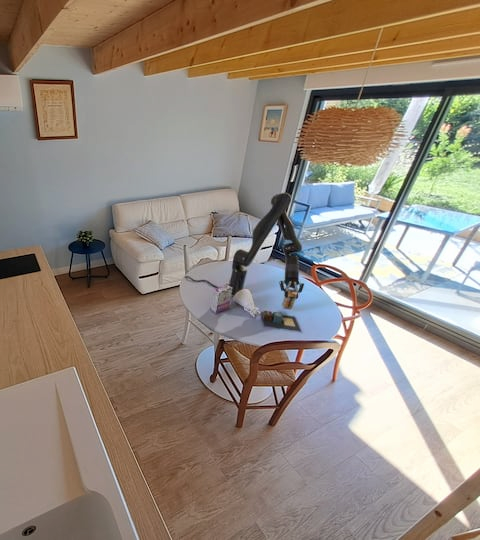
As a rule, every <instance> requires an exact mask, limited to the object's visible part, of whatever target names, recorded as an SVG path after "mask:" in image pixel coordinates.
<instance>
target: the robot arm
mask: <svg viewBox="0 0 480 540" xmlns="http://www.w3.org/2000/svg"><path fill="white" fill-rule="evenodd" d="M291 203H292V196H291V195H290V194H289V193H288V192H280V193H277V194H274V195H273V196H272V197H271V199H270V205H271V208H270V210H269V211H268V212H267V213H266V214H265V215H264V216H262V218H261V219H260V220H259V221H258V222H257V224H256V225H255V227H254V228H253V230H252V235H251V237H252V239H251V240H252V242H251V247H250V249H249V251H246V250H244V249H242V248H241V249H240V248H239V249H237V250H236V251H235V253H234V255H233V258H232V264H231V275H230V279H229V282H228V283H226V284H225V285H229V286H231V287H232V288H233V289H232V294H231V298H233V297H234V295H235V294H236V293H237V292H238V291H240V290H243V289H244V286H245V282H246V278H247V274H248V269H247V267H249V266H251V264H252V263H253V261H255V258H256V256H257V254H258V252H259V250H260V248H261V247H262V245H263V244H264V242H265V241H266V239H267V238H268V236H269V235H270V233H271V232H272V231H273V228H274V227H275V225H276V224H277V222H278V225H279V226H280V227H279V228H280V231H281V234H282V238H283V240H284V241H291V242H286V243H284V244H283V246H282V250H283V254H284V258H285V267H284V280H280V281H279V282H278V283H279V284H278V285H279V288H280V291H281V292H284V296H283V297H285V298H288V292H287V291H288V289H292V290H296V292H297V296H296V299H295V300H298V298H299V294H300V293H302V292H303V289H304V286H305V283H304V282H302V283H301V282H300V281H299V280H300V279H299V278H300V277H299V276H300V274H299V273H300V271H299V270H300V267H299V257H298V256H297V255H291V254H297V253H301V252H302V251H303V244H302V243H301V241H300V240H299V238H298V237H297V235H296V231H295V227H294V223H293V222H292V221H291V219H290V217H289V216H288V213H287V209H288V207H289V206H290V204H291ZM184 278H188V279H189V280H191V281H192V282H206V283H207V284H209V285H211V286H212V287H214V288H215V289H216V288H219V287H220V286H217V285H215V284H214V283H211V282H210V281H209V280H207V279H199V280H197V279H196V280H195V279H193V278H191V277H190V276H189V275H187V276H184ZM284 284H285V286H284ZM298 286H299V288H298Z"/></svg>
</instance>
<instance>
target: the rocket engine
mask: <svg viewBox="0 0 480 540" xmlns="http://www.w3.org/2000/svg"><path fill="white" fill-rule="evenodd" d="M232 299H233V301H234V302H235V303H237V304H238V305H240V306H241V307H243V310H244V311H245V312H247V313H249V314H250V315H251V317H252V318H256V316H258V315H261V314H262V313H261V312H262V311H260V308H259V307H257V306H255V302H254V299H253V295H252V293H251V291H250V289H248V288H243V290H240V291H238V292H237V293H236V294H235V295H234V297H232Z"/></svg>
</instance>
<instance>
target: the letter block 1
mask: <svg viewBox="0 0 480 540" xmlns="http://www.w3.org/2000/svg"><path fill="white" fill-rule="evenodd" d="M272 314H273V311H271V310H270V311H269V310H263V314H262V316H261V319H262V318H263V320H262V322H263V321H269V322H271V320H272V317H273V315H272Z"/></svg>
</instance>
